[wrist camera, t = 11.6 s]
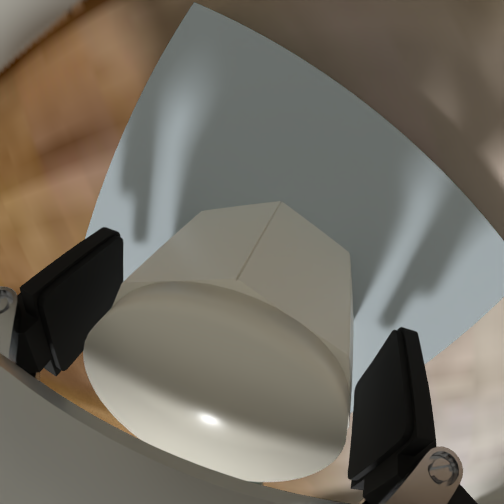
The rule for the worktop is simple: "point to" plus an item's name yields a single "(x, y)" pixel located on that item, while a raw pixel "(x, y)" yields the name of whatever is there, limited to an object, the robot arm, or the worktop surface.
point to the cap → (234, 345)
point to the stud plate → (301, 181)
